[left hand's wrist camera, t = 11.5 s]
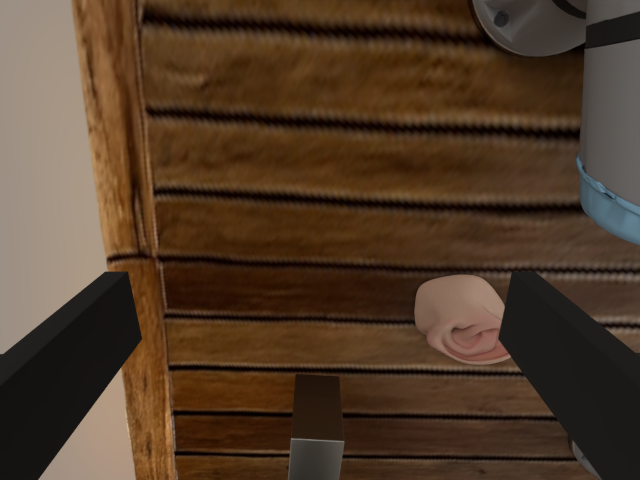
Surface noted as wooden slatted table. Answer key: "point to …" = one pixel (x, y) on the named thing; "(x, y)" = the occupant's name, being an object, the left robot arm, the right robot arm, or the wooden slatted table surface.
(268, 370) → the wooden slatted table surface
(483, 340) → the anatomical model
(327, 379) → the bar
